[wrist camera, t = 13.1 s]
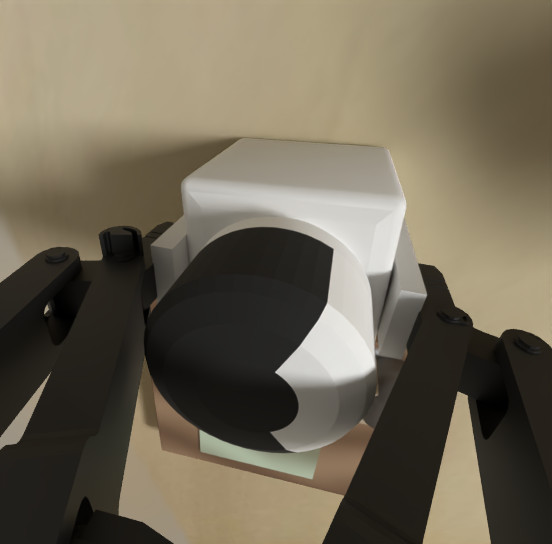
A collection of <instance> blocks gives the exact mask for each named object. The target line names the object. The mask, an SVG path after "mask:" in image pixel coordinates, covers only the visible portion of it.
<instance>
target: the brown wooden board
mask: <svg viewBox="0 0 552 544" xmlns="http://www.w3.org/2000/svg"><path fill="white" fill-rule="evenodd" d="M156 305H157V299H155V300H154V302H153V303H152V304H151V305H150V307H151V312H152V310H153V309H154V307H155V306H156ZM407 354H408V353H407V347H406V350H405V353H404V355H403V358H402V360H403V361H405V359H406V357H407ZM375 356H376V359H377V358H382V357H386V356H381V355H379V348H378V334H377V336H376V340H375ZM400 360H401V359H400ZM151 378H152V377H151ZM152 385H153V392H154V399H155V406H156V413H157V420H158V426H159V433H160V440H161V447H162V450H164V451H168V452H172V453H176V454H180V455H184V456H188V457H192V458H196V459H200V460H204V461H208V462H212V463H216V464H220V465H224V466H228V467H232V468H236V469H240V470H244V471H248V472H252V473H256V474H260V475H264V476H268V477H272V478H276V479H280V480H284V481H288V482H292V483H296V484H300V485H304V486H308V487H312V488H316V489H320V490H324V491H328V492H332V493H336V494H340V495H344V496H345V494H346V492H347V490H348V487H349V485H350V483H351V481H352V478H353V476H354V474H355V472H356V469H357V467H358V465H359V463H360V460H361V458H362V456H363V454H364V451H365V449H366V447H367V445H368V442H369V440H370V438H371V435H372V433H373V431H374V428H372V427H370V426H369V425H366V424H361V423H359V424H357V425H356V426H355V427H354V428H353V429H351V430H350V431H349V432H348V433H347V434H345V435H344V436H343V437H341V438H340V439H338V440H336V441H335V442H333V443H331V444H328V445H326V446H324V447H321V448H317V449H314V450H310V451H304V452H298V453H269V452H261V451H255V450H250V449H245V448H242V447H239V446H235V445H232V444H229V443H227V442H224V441H221V440H219V439H217V438H215V437H213V436H211V435H209V434H207V433H205V432H203V431H202V430H200V429H198V428H197V427H195V426H194V425H192V424H191V423H189V422H188V421H186V420H185V419H184V418H183V417H182V416H180V415H179V414H178V413H177V412H176V411H175V410H174V409H173V408H172V407H171V406H170V405H169V404H168V403H167V402H166V400H165V399H164V398H163V397H162V395H161V394H160V392H159V391H158V389H157V387H156V386H155V384H154V382H153V380H152Z"/></svg>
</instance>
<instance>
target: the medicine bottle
mask: <svg viewBox="0 0 552 544" xmlns="http://www.w3.org/2000/svg"><path fill="white" fill-rule="evenodd" d="M181 194H182V203H183V211H184V220H185V228H186V234H187V244H188V253H189V262H190V264H189V265H188V267H187V268H186V269H185V270H184V272H183V273H182V274H181V275H180V277H179V278H178V279H177V280H176V281H175V283H174V284H173V285H172V286H171V288H170V289H169V290H168V291H167V293H166V294H165V295H164V296H163V298H162V299H161V300H160V301H159V302H158V304H157V305H156V306H155V307H154V309H153V310H152V312H151V314H150V316H149V318H148V320H147V324H146V327H145V331H144V351H145V357H146V361H147V365H148V368H149V372H150V375H151V377H152V380H153V382H154V384H155V386H156V387H157V389H158V391H159V392H160V394H161V395H162V397H163V398H164V399H165V400H166V402H167V403H168V404H169V405H170V406H171V407H172V408H173V409H174V410H175V411H176V412H177V413H178V414H179V415H180V416H182V417H183V418H184V419H185V420H186V421H188V422H189V423H191V424H192V425H194V426H195V427H197V428H198V429H200V430H202V431H203V432H205V433H207V434H209V435H211V436H213V437H215V438H217V439H219V440H221V441H224V442H227V443H229V444H232V445H235V446H239V447H242V448H245V449H250V450H255V451H261V452H269V453H298V452H304V451H310V450H314V449H317V448H321V447H324V446H326V445H328V444H331V443H333V442H335V441H336V440H338V439H340V438H341V437H343V436H344V435H345V434H347V433H348V432H349V431H350V430H351V429H353V428H354V427H355V426H356V425H357V424H359V423H360V421H361V420H362V419H363V418H364V417H365V416H366V414H367V413H368V411H369V409H370V407H371V405H372V403H373V400H374V397H375V394H376V386H377V372H376V356H375V340H376V336H377V330H378V326H379V322H380V318H381V314H382V310H383V306H384V301H385V297H386V293H387V288H388V284H389V280H390V275H391V271H392V267H393V262H394V258H395V254H396V249H397V245H398V241H399V236H400V232H401V228H402V223H403V219H404V215H405V211H406V200H405V197H404V194H403V191H402V188H401V185H400V182H399V179H398V176H397V173H396V170H395V167H394V164H393V161H392V158H391V155H390V152H389V151H388V149H386V148H384V147H372V146H357V145H342V144H327V143H313V142H298V141H283V140H268V139H254V138H242V139H240V140H238V141H237V142H235V143H234V144H232V145H231V146H230V147H228V148H227V149H225V150H224V151H223V152H221V153H220V154H218V155H217V156H215V157H214V158H213V159H211V160H210V161H208V162H207V163H205V164H204V165H203V166H201V167H200V168H198V169H197V170H196V171H194V172H193V173H191V174H190V175H188V176H187V177H186V178H185V179H184V180H183V181H182V184H181Z"/></svg>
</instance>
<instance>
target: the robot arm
mask: <svg viewBox="0 0 552 544" xmlns="http://www.w3.org/2000/svg"><path fill="white" fill-rule="evenodd" d="M99 239H100V244H101V249H102V254H103V258H102V260H100V261H80V257H79V253H78V251H77V250H75V249H73V248H68V247H56V248H50V249H48V250H45V251H43V252H41V253H39V254H37V255H36V256H35V257H33V258H32V259H31V260H29V261H28V262H27V263H25V264H24V265H23V266H22V267H20V268H19V269H18V270H16V271H15V272H14V273H12V274H11V275H10V276H9V277H7V278H6V279H5V280H3V281H2V282H1V283H0V437H1V435H2V434H3V433H4V431H5V430H6V429H7V428H8V426H9V425H10V424H11V423H12V421H13V420H14V419H15V417H16V416H17V415H18V414H19V412H20V411H21V410H22V409H23V407H24V406H25V405H26V403H27V402H28V401H29V400H30V398H31V397H32V396H33V394H34V393H35V392H36V391H37V389H38V388H39V387H40V385H41V384H42V383H43V382H44V380H45V379H46V378H47V376H48V375H49V374H50V372H51V371H52V372H51V374H50V376H49V378H48V381H47V383H46V385H45V387H44V389H43V392H42V394H41V396H40V399H39V401H38V403H37V405H36V407H35V409H34V412H33V414H32V416H31V418H30V421H29V423H28V425H27V427H26V430H25V432H24V434H23V436H22V438H21V439H20V441H19V442H18V443H17V444H12V445H5V446H4V447H3V448H2V449H1V450H0V544H173V543H172V542H171V541H169V540H168V539H166V538H165V537H163V536H162V535H160V534H159V533H157V532H156V531H155V530H153V529H152V528H150V527H149V526H148V525H146V524H145V523H143V522H140V521H136V520H133V519H129V518H126V517H122V516H119V515H118V513H119V511H118V509H119V499H120V492H121V487H122V481H123V475H124V469H125V464H126V458H127V452H128V447H129V441H130V435H131V430H132V424H133V418H134V413H135V407H136V401H137V396H138V390H139V384H140V378H141V373H142V367H143V361H144V356H145V351H144V331H145V327H146V324H147V320H148V318H149V316H150V314H151V307H150V305H151V304H152V303H153V302H154V300H155V299H157V304H158V302H159V301H160V300H161V299H162V298H163V296H164V295H165V294H166V293H167V291H168V290H169V289H170V288H171V286H172V285H173V284H174V283H175V281H176V280H177V279H178V278H179V277H180V275H181V274H182V273H183V272H184V270H185V269H186V268H187V267H188V265H189V264H190V262H189V253H188V244H187V234H186V228H185V220H184V215H183V216H182V217H181V218H180V219H179V220H177V221H176V222H175V223H172V222H165V223H163V224H160V225H158V226H156V227H155V228H154V229H153V230H152V231H151V232H149V233H148V234H147V235H146V236H145V237H143V238H142V236H141V231H140V230H139V229H137V228H134V227H130V226H117V227H112V228H108V229H106V230H104V231H102V232H101V233H100V234H99ZM46 305H48V308H49V310H48V311H47V312H46V313H45V314H44V310H45V307H46ZM377 334H378V348H379V355H381V356H386V357H391V358H396V359H401V360H402V358H403V355H404V353H405V350H406V347H407V353H408V354H407V357H406V359H405V361H404V363H403V366H402V368H401V370H400V372H399V375H398V377H397V379H396V381H395V384H394V386H393V388H392V390H391V393H390V395H389V397H388V399H387V402H386V404H385V406H384V408H383V411H382V413H381V415H380V417H379V420H378V422H377V424H376V426H375V429H374V431H373V433H372V435H371V438H370V440H369V442H368V445H367V447H366V449H365V451H364V454H363V456H362V458H361V460H360V463H359V465H358V467H357V469H356V472H355V474H354V476H353V478H352V481H351V483H350V485H349V487H348V490H347V492H346V494H345V496H344V498H343V499H342V501H341V503H340V505H339V508H338V510H337V512H336V514H335V516H334V519H333V521H332V523H331V525H330V528H329V530H328V532H327V534H326V537H325V539H324V541H323V543H322V544H423V538H424V534H425V529H426V525H427V521H428V517H429V512H430V508H431V504H432V499H433V495H434V491H435V486H436V482H437V478H438V474H439V469H440V465H441V461H442V456H443V452H444V448H445V443H446V439H447V435H448V431H449V426H450V422H451V418H452V413H453V409H454V405H455V400H456V396H457V392H458V391H459V392H461V393H463V394H465V395H468V403H469V409H470V415H471V421H472V428H473V434H474V440H475V446H476V453H477V459H478V465H479V471H480V478H481V484H482V490H483V496H484V502H485V509H486V515H487V521H488V527H489V534H490V540H491V544H552V348H551V347H550V346H549V345H548V344H547V343H546V342H545V341H543V340H542V339H541V338H539V337H538V336H535V335H534V334H532V333H529V332H525V331H523V330H517V329H509V330H506V331H504V332H503V333H502V335H501V337H500V338H498V337H495V336H492V335H490V334H487V333H484V332H482V331H480V330H477V329H475V328H474V327H473V322H472V319H471V318H470V316H469V315H468V314H467V313H465V312H464V311H463V310H461V309H459V308H457V307H455V305H454V302H453V300H452V297H451V295H450V292H449V290H448V287H447V284H446V283H445V279H444V277H443V274H442V273H441V272H440V271H439V270H438V269H437V268H436V267H435V266H431V265H425V264H419V263H418V262H417V259H416V255H415V252H414V249H413V245H412V242H411V239H410V235H409V232H408V228H407V225H406V222H405V218H404V219H403V223H402V228H401V232H400V236H399V241H398V245H397V249H396V254H395V258H394V262H393V267H392V271H391V275H390V280H389V284H388V288H387V293H386V297H385V301H384V306H383V310H382V314H381V318H380V322H379V326H378V330H377Z"/></svg>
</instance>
